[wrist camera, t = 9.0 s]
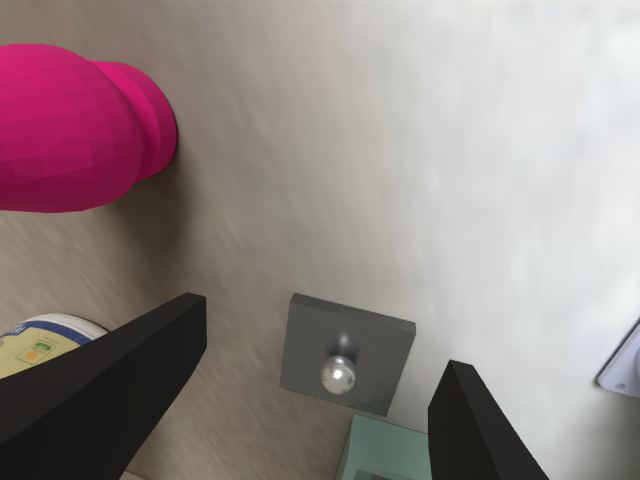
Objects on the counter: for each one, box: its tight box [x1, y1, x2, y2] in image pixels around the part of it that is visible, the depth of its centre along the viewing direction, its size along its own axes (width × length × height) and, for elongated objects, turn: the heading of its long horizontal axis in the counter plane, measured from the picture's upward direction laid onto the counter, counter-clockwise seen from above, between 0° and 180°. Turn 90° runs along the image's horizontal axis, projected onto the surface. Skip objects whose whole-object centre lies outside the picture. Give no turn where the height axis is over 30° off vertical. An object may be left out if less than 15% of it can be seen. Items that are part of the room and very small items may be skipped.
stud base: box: [279, 293, 416, 417], centre depth 22 cm, size 8×8×3 cm
